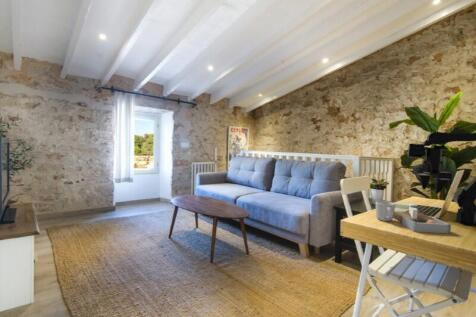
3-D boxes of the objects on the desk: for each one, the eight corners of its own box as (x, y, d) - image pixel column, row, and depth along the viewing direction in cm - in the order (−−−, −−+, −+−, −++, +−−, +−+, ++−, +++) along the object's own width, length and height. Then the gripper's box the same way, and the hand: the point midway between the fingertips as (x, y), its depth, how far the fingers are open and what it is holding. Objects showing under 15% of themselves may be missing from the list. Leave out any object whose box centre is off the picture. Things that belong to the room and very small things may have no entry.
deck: (419, 217, 125) (419, 211, 124) (438, 226, 112) (439, 220, 111) (389, 216, 125) (389, 210, 125) (405, 224, 112) (405, 218, 112)
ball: (437, 229, 105) (431, 230, 108) (439, 222, 106) (433, 223, 109) (428, 224, 106) (423, 226, 109) (431, 217, 107) (425, 219, 110)
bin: (435, 226, 112) (435, 218, 111) (450, 233, 103) (451, 224, 103) (401, 224, 112) (402, 216, 112) (413, 231, 104) (414, 223, 104)
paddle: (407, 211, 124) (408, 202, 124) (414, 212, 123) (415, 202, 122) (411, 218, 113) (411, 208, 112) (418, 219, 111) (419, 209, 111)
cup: (399, 225, 112) (401, 207, 111) (379, 223, 113) (381, 205, 113) (390, 218, 122) (391, 201, 121) (372, 216, 124) (373, 200, 123)
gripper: (404, 156, 132) (401, 186, 133) (429, 159, 113) (425, 194, 114) (426, 157, 131) (424, 187, 132) (455, 160, 113) (452, 195, 114)
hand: (430, 191), depth 123 cm, fingers open, 9 cm apart
